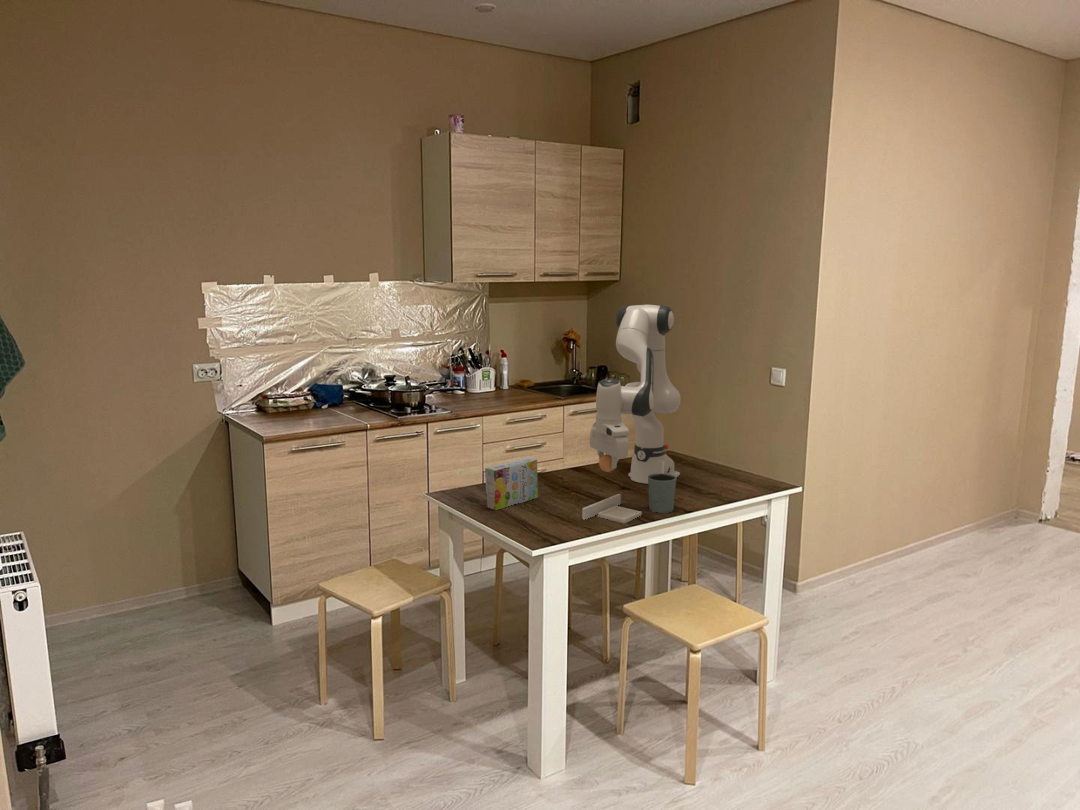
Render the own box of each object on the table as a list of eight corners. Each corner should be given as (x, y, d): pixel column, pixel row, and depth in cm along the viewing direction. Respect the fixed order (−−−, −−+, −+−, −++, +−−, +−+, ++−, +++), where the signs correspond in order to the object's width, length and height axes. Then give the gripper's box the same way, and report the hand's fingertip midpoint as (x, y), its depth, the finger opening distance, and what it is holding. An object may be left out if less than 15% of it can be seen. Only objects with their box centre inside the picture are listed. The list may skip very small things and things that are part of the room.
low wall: (618, 504, 293) (618, 493, 292) (620, 504, 292) (620, 494, 292) (582, 519, 276) (582, 508, 276) (584, 520, 276) (584, 509, 275)
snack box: (528, 495, 304) (527, 456, 302) (538, 498, 300) (538, 459, 298) (485, 507, 290) (484, 467, 287) (495, 511, 286) (495, 470, 283)
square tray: (615, 509, 287) (615, 505, 287) (641, 515, 280) (641, 511, 280) (597, 517, 279) (597, 513, 279) (624, 523, 272) (624, 519, 272)
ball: (595, 470, 281) (595, 453, 280) (610, 468, 284) (610, 452, 283) (604, 474, 276) (604, 457, 275) (619, 472, 279) (619, 455, 278)
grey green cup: (650, 514, 282) (651, 481, 280) (644, 505, 292) (645, 473, 290) (678, 513, 283) (679, 480, 281) (671, 504, 293) (672, 472, 291)
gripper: (585, 421, 285) (585, 459, 287) (615, 433, 267) (615, 473, 269) (601, 420, 288) (600, 457, 290) (632, 431, 270) (631, 471, 272)
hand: (607, 465), depth 280 cm, fingers closed on ball, 6 cm apart
